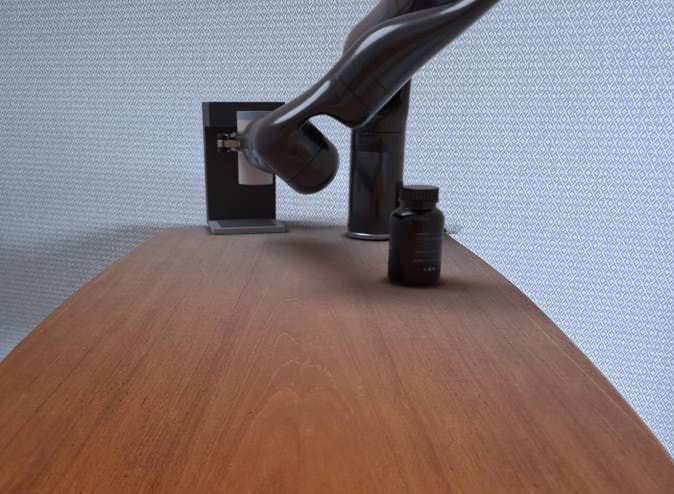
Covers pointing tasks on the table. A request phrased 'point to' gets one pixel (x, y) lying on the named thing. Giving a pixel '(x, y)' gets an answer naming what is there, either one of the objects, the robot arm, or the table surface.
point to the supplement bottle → (416, 237)
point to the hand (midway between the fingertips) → (252, 140)
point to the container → (246, 171)
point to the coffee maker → (234, 176)
